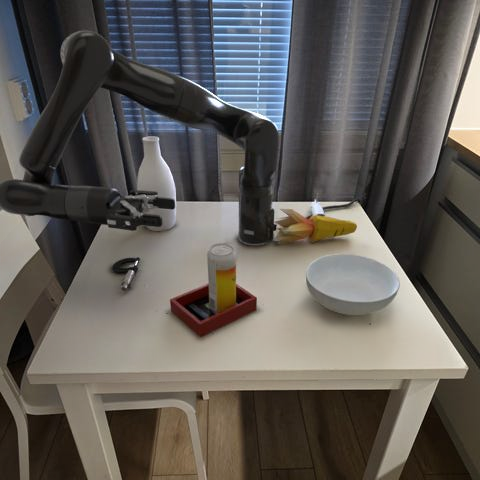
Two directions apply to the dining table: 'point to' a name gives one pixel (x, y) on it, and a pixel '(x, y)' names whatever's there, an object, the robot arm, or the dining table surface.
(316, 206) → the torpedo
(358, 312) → the serving bowl
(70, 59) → the robot arm
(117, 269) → the micrometer
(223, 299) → the lager tin can
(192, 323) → the red picture frame
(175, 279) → the dining table surface
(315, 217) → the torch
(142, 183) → the bottle
